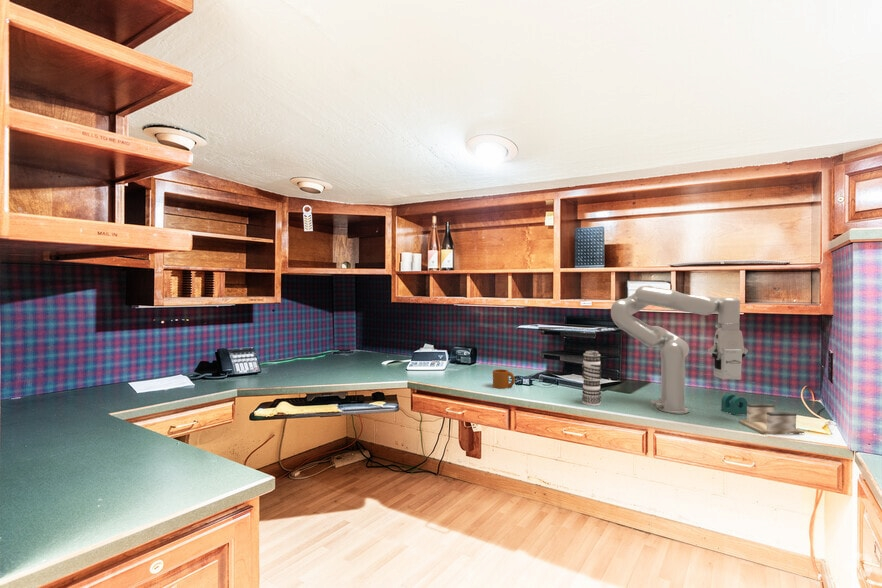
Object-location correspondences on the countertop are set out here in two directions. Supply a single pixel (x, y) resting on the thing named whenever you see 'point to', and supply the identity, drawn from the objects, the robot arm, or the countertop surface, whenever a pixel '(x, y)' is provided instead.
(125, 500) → the countertop surface
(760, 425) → the clip holder
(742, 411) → the bracket
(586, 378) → the decorative candle
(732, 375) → the supplement box
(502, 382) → the mug
